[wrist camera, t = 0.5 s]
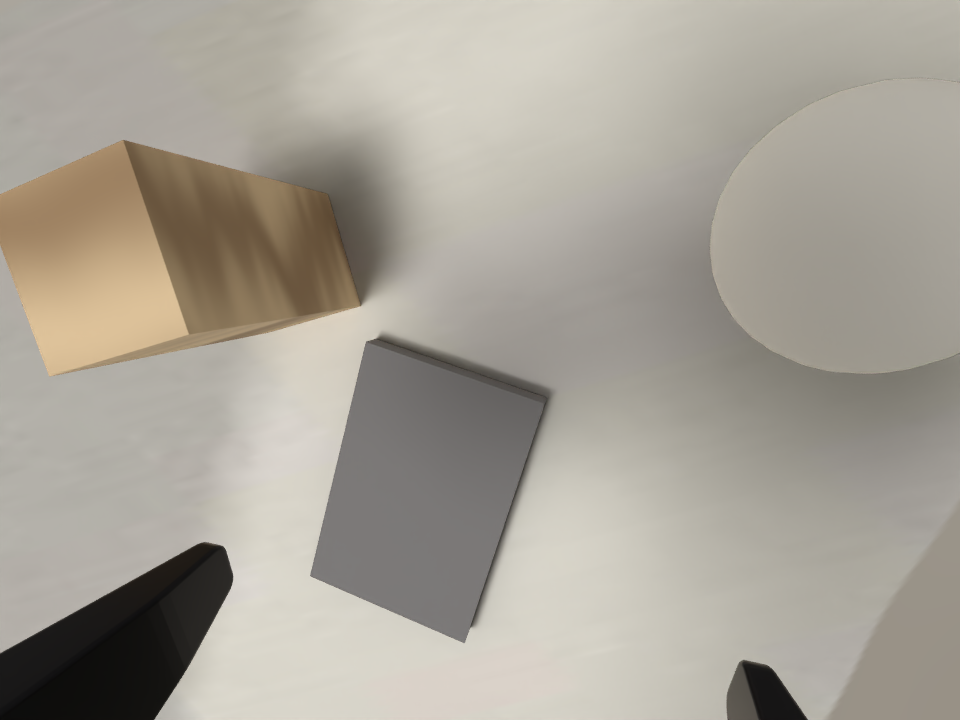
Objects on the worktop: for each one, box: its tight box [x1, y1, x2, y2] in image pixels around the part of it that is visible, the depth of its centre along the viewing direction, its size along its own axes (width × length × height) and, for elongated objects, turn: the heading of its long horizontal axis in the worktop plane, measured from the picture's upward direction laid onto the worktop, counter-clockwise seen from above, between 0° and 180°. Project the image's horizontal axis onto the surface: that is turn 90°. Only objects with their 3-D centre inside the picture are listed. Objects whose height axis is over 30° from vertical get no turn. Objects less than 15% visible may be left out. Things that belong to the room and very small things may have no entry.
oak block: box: [0, 140, 361, 377], centre depth 18 cm, size 5×5×10 cm
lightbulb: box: [710, 78, 960, 374], centre depth 14 cm, size 6×6×11 cm
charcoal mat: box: [310, 339, 547, 643], centre depth 23 cm, size 12×8×1 cm, turn 163°
